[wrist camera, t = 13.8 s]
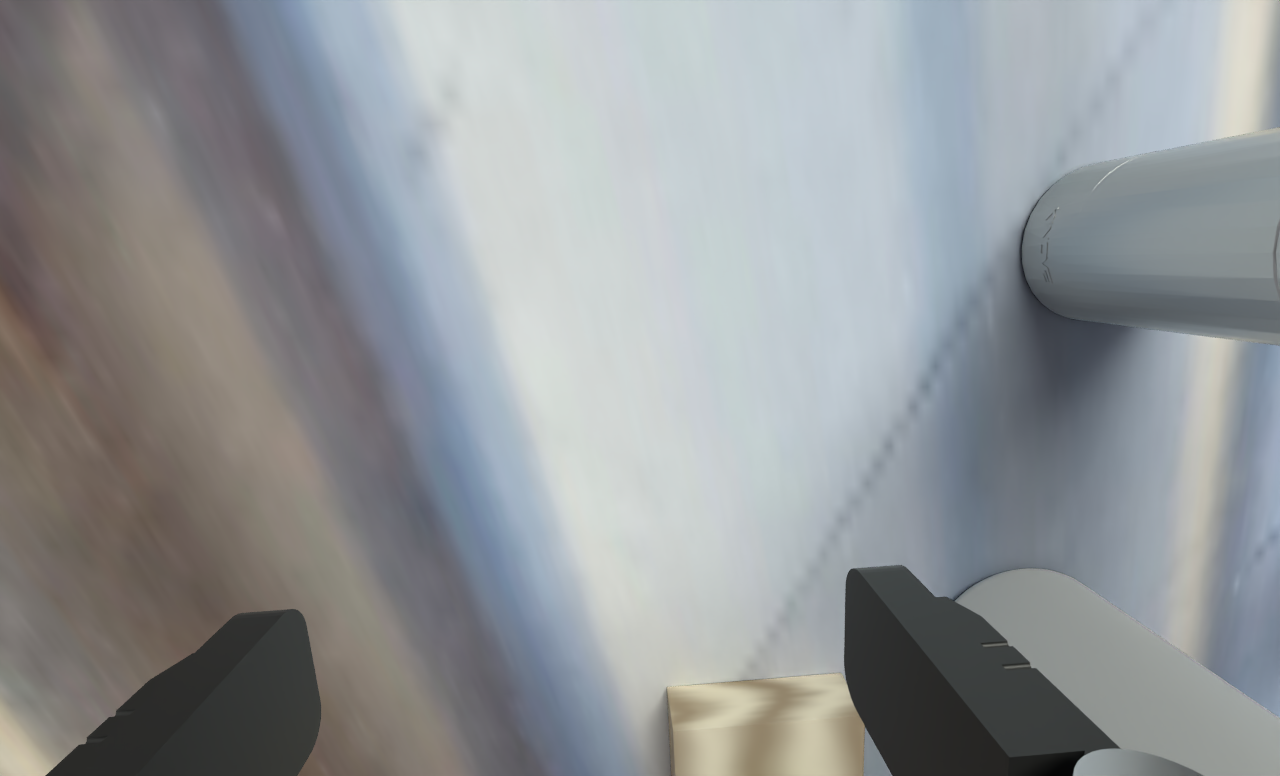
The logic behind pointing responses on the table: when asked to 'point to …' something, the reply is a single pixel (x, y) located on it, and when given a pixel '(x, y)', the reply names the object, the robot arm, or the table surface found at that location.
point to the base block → (766, 728)
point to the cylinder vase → (1128, 675)
